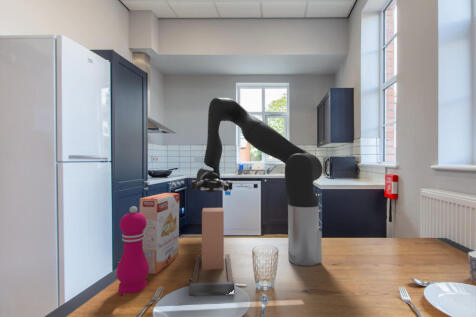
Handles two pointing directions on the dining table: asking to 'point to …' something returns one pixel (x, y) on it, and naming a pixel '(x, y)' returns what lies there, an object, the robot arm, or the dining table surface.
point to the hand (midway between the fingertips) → (212, 188)
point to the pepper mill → (132, 253)
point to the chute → (211, 279)
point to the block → (212, 238)
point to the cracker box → (160, 229)
